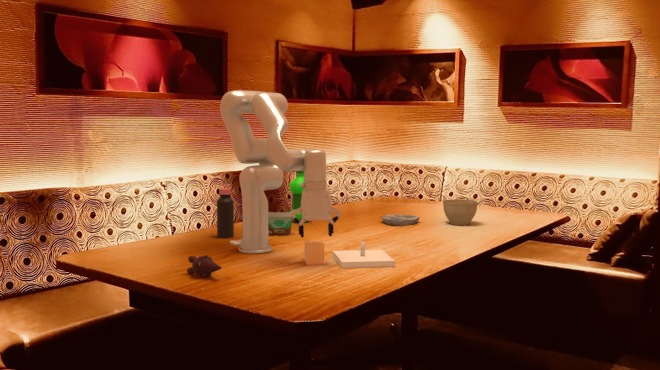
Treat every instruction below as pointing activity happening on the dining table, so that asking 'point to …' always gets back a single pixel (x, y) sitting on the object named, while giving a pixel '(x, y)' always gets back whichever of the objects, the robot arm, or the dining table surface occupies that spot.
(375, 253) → the post board
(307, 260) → the orange block
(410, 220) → the grey stone plate
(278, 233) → the food container
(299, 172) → the plastic bottle
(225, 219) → the vinegar
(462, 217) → the planter bowl
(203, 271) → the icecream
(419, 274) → the dining table surface
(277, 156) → the robot arm
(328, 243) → the dining table surface
